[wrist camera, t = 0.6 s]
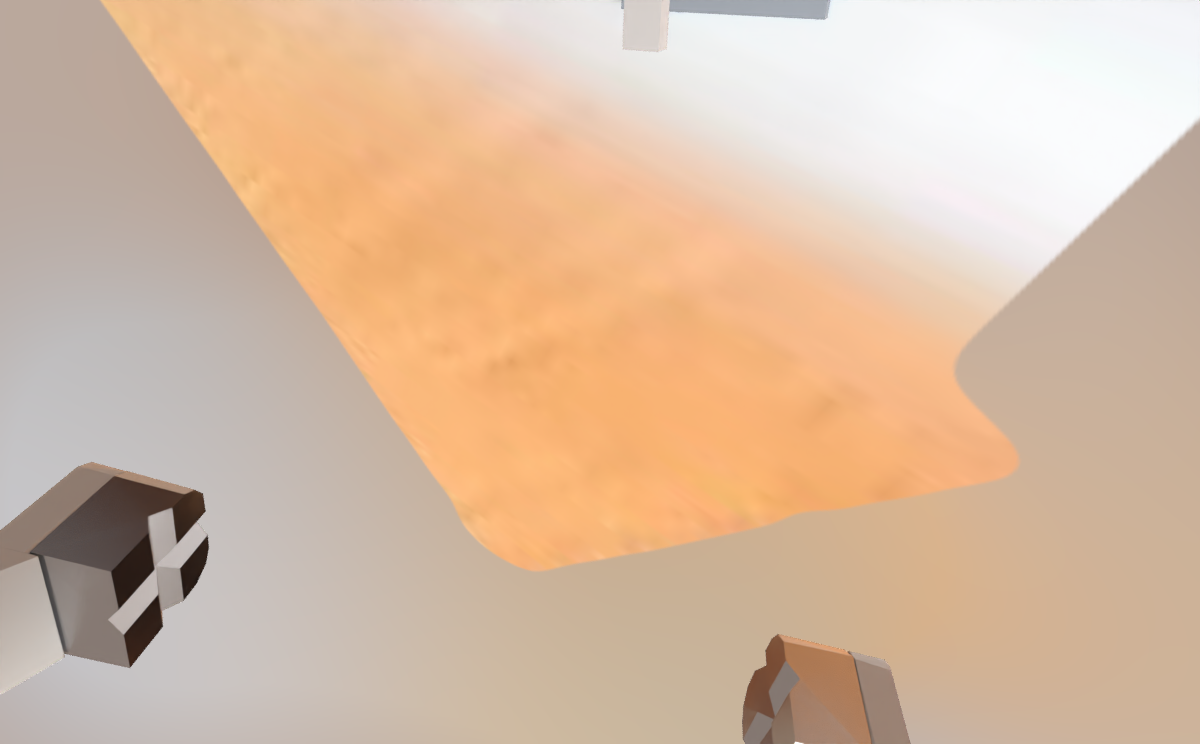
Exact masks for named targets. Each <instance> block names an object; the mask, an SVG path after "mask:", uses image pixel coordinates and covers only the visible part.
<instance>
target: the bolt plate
mask: <svg viewBox="0 0 1200 744" xmlns="http://www.w3.org/2000/svg"><path fill="white" fill-rule="evenodd" d="M829 4H830V0H622V7H621V9H624V22H623V49H624V50H638V51H652V52H660V51H662V50H665V49H667V36H668V20H669V11H670V12H689V13H709V14H728V15H747V16H766V17H785V18H804V19H823V20H825V19H826V18H827V17H828V10H829Z"/></svg>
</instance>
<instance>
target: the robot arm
mask: <svg viewBox="0 0 1200 744" xmlns="http://www.w3.org/2000/svg"><path fill="white" fill-rule="evenodd" d="M205 511H206V510H205V504H204V498H203V493H201V492H198V491H196V490H193V489H190V488H186V487H182V486H179V485H175V484H172V483H168V482H164V481H161V480H157V479H153V478H150V477H147V476H143V475H139V474H136V473H132V472H128V471H123V470H119V469H116V468H112V467H108V466H105V465H100V464H97V463H93V462H91V463H88V464H84V465H81V466H79V467H77V468H76V469H74V470H73V471H72V472H71V473H69V474H68V475H67V476H66V477H65V478H63V479H62V480H61V481H60V482H59V483H57V484H56V485H55V486H54V487H52V488H51V489H50V490H49V491H48V492H46V493H45V494H44V495H43V496H42V497H40V498H39V499H38V500H37V501H35V502H34V503H33V504H32V505H31V506H29V507H28V508H27V509H26V510H25V511H23V512H22V513H21V514H20V515H18V516H17V517H16V518H15V519H14V520H12V521H11V522H10V523H9V524H8V525H6V526H5V527H4V528H3V529H1V530H0V695H1V694H2V693H4V692H6V691H8V690H9V689H11V688H13V687H15V686H16V685H18V684H20V683H22V682H23V681H25V680H27V679H28V678H30V677H32V676H34V675H36V674H37V673H39V672H41V671H43V670H44V669H46V668H48V667H50V666H51V665H53V664H55V663H56V662H58V661H60V660H62V659H63V658H64V657H65V655H64V654H69V655H73V656H78V657H82V658H87V659H91V660H96V661H100V662H105V663H110V664H114V665H119V666H124V667H128V668H130V667H131V666H132V665H133V663H134V662H135V661H136V660H137V658H138V657H139V656H140V655H141V654H142V652H143V651H144V650H145V649H146V647H147V646H148V645H149V644H150V642H151V641H152V640H153V639H154V637H155V636H156V635H157V634H158V632H159V631H160V630H161V629H162V627H163V619H162V611H163V610H165V609H167V608H169V607H171V606H174V605H175V604H178V603H180V602H182V601H184V599H185V598H186V597H187V595H188V594H189V593H190V592H191V590H192V589H193V588H194V586H195V585H196V584H197V582H198V580H199V577H200V575H201V573H202V571H203V569H204V567H205V564H206V561H207V555H208V550H209V544H208V534H207V533H206V532H205V531H204V529H203V528H202V527H201V526H200V525H199V523H198V522H197V521H198V520H199V518H200V517H201V516H202V515H203V514H204V513H205ZM742 724H743V725H742V727H743V740H744V742H745V744H910V740H909V736H908V733H907V729H906V725H905V721H904V718H903V714H902V710H901V706H900V703H899V699H898V695H897V692H896V688H895V684H894V680H893V676H892V673H891V669H890V666H889V665H888V664H887V663H886V661H885V660H883V659H879V658H875V657H870V656H866V655H862V654H858V653H854V652H850V651H845V650H843V649H839V648H835V647H831V646H826V645H822V644H818V643H814V642H809V641H805V640H801V639H797V638H793V637H788V636H784V635H779V634H777V635H776V636H775V637H773V638H772V639H771V641H770V643H769V645H768V647H767V649H766V666H764V667H762V668H760V669H758V670H756V671H755V672H754V674H753V676H752V679H751V681H750V683H749V685H748V688H747V693H746V697H745V701H744V706H743V719H742Z"/></svg>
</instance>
